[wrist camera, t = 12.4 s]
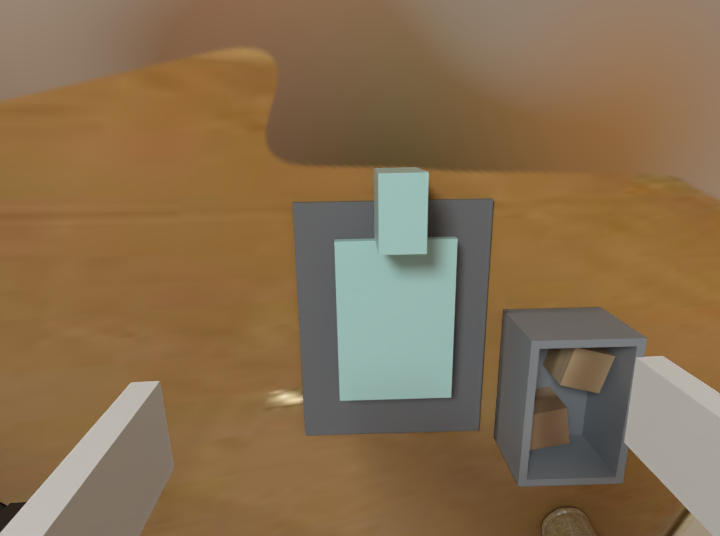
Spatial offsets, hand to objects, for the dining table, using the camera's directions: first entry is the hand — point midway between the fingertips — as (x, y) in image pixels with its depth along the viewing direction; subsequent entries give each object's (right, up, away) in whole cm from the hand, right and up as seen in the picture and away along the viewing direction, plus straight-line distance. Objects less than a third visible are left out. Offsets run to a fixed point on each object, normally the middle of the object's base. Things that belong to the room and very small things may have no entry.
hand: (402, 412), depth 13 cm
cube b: (+16, -3, +25) cm, 29 cm away
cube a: (+13, -8, +26) cm, 30 cm away
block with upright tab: (+1, +3, +23) cm, 23 cm away
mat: (+1, -1, +24) cm, 25 cm away
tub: (+15, -5, +26) cm, 30 cm away
